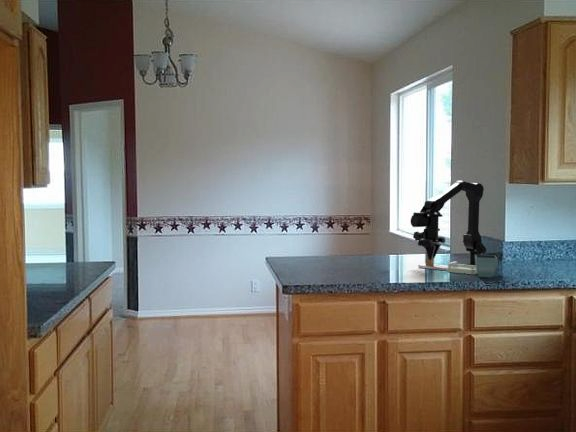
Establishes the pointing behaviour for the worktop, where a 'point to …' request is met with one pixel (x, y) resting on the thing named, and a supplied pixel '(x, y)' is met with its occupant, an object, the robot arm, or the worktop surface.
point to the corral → (460, 270)
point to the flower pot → (486, 265)
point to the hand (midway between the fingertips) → (431, 259)
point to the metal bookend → (431, 265)
